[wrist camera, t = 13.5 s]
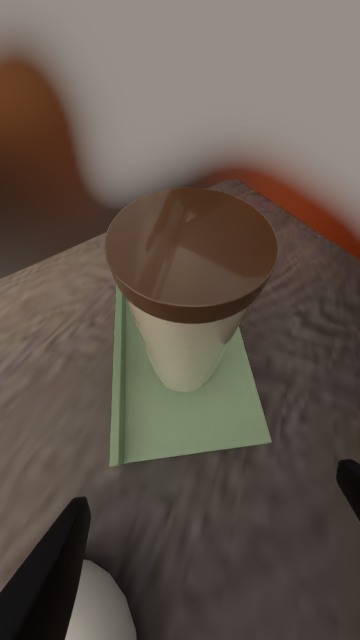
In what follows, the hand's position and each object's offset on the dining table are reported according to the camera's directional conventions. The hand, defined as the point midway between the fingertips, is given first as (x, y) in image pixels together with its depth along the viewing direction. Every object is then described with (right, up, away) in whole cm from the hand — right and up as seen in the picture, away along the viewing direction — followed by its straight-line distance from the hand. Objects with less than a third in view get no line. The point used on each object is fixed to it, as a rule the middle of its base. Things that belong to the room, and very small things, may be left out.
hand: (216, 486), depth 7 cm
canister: (-1, +2, +11) cm, 11 cm away
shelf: (-1, +1, +15) cm, 15 cm away
